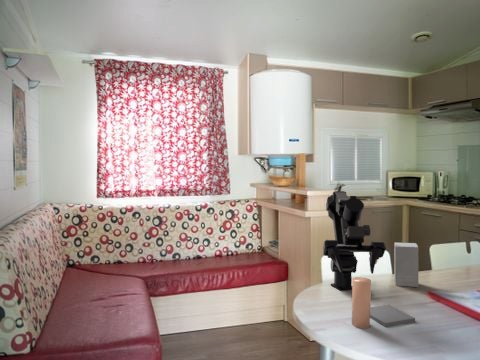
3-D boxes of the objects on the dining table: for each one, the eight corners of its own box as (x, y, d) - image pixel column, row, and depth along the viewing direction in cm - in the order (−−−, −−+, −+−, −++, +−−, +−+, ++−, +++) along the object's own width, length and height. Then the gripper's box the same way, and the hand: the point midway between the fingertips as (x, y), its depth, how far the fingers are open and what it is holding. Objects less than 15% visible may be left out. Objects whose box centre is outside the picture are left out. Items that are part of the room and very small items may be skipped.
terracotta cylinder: (348, 321, 108) (349, 278, 108) (362, 319, 110) (363, 276, 109) (359, 329, 103) (360, 283, 103) (373, 326, 105) (374, 281, 105)
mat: (360, 311, 116) (360, 308, 115) (388, 307, 119) (388, 304, 119) (384, 326, 105) (384, 323, 105) (415, 321, 109) (415, 318, 109)
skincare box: (416, 282, 144) (417, 242, 143) (418, 288, 137) (420, 246, 137) (392, 280, 147) (394, 241, 146) (394, 286, 140) (395, 244, 139)
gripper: (324, 215, 119) (328, 257, 108) (385, 216, 116) (394, 260, 106) (321, 234, 127) (324, 276, 116) (378, 236, 125) (386, 278, 114)
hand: (356, 272), depth 113 cm, fingers open, 9 cm apart
